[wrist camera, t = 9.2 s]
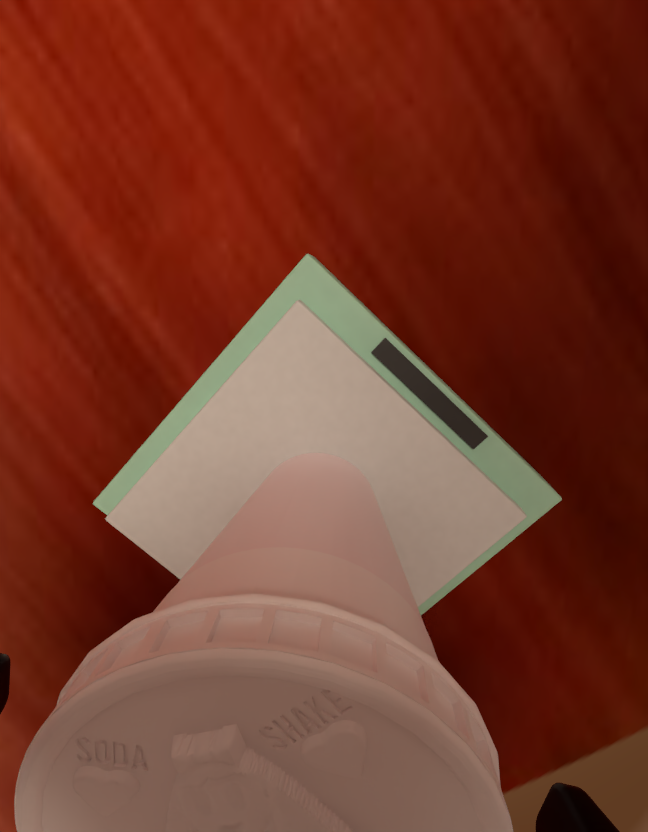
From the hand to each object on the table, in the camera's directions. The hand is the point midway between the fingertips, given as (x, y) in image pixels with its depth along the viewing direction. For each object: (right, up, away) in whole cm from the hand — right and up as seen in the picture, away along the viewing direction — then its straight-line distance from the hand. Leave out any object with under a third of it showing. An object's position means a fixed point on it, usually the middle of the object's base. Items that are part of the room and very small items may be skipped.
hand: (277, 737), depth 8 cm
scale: (+1, +3, +10) cm, 10 cm away
